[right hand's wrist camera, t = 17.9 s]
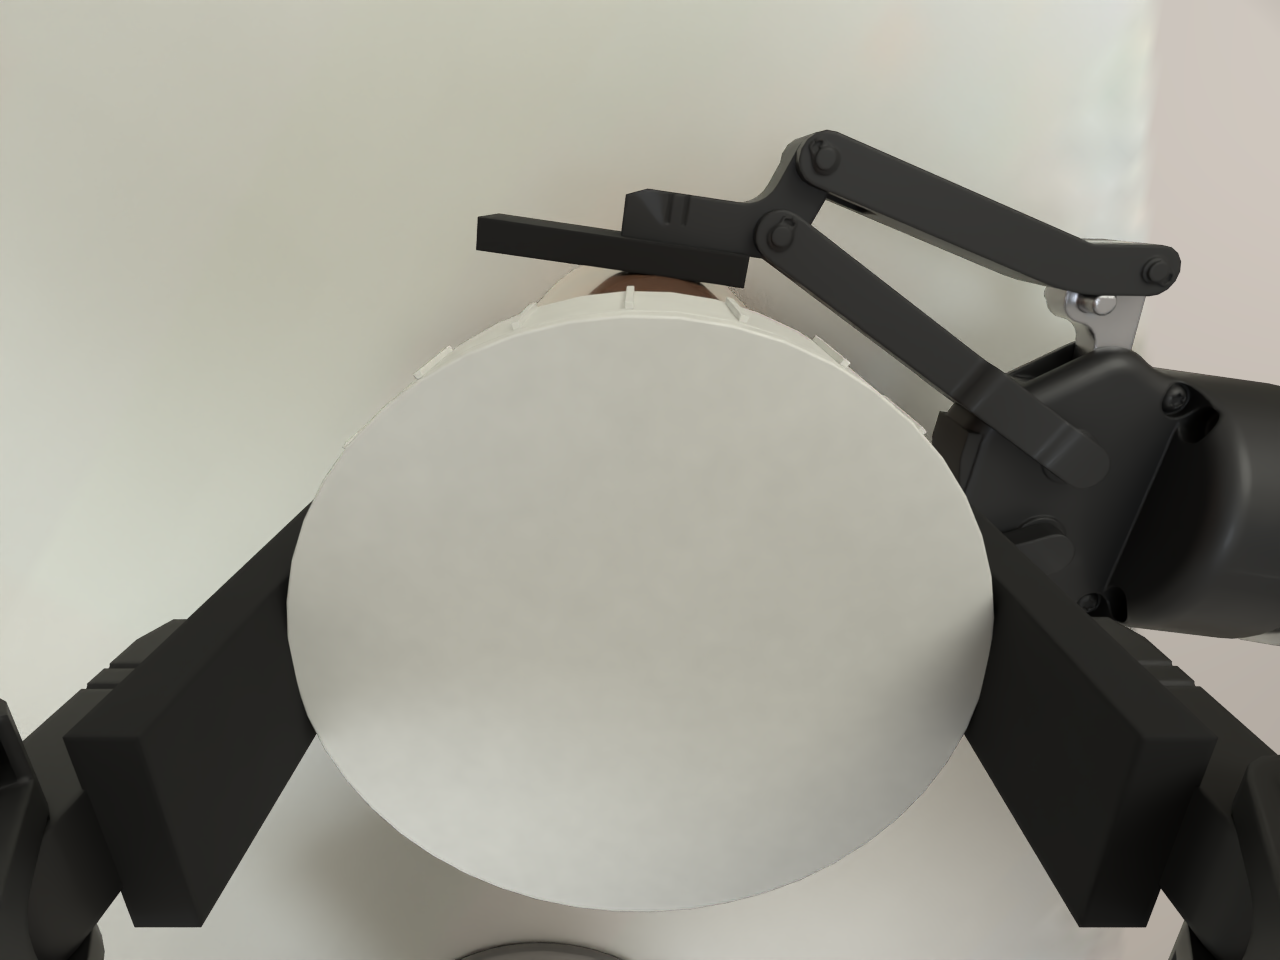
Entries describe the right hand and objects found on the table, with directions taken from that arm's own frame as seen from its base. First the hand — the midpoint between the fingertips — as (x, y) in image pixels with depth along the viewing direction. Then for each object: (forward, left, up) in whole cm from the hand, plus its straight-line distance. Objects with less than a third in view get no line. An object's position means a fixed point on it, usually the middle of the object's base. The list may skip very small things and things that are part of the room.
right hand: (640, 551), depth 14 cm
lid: (0, 0, +3) cm, 3 cm away
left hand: (0, -5, -7) cm, 8 cm away
